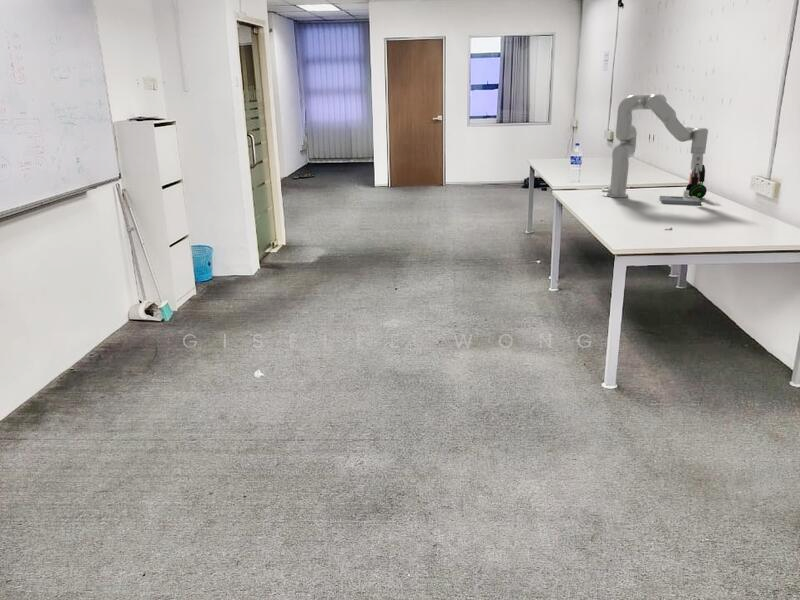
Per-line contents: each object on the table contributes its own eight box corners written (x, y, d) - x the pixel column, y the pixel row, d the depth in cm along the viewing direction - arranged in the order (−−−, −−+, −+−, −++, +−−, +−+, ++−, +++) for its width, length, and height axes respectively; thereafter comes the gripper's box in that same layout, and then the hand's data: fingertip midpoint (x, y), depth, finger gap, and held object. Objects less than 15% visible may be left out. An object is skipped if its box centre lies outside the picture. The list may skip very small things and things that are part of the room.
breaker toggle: (683, 197, 372) (684, 190, 370) (682, 196, 375) (684, 189, 374) (688, 198, 371) (689, 190, 370) (687, 196, 375) (688, 189, 373)
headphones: (690, 200, 378) (695, 166, 371) (683, 195, 392) (687, 162, 386) (707, 200, 377) (712, 166, 370) (699, 195, 391) (703, 163, 385)
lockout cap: (689, 183, 362) (691, 173, 360) (688, 182, 366) (690, 172, 364) (698, 184, 361) (700, 173, 359) (697, 183, 365) (698, 172, 363)
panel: (661, 203, 368) (662, 197, 367) (659, 199, 381) (660, 193, 380) (700, 205, 362) (701, 199, 361) (697, 200, 375) (698, 195, 374)
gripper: (707, 152, 349) (702, 185, 355) (703, 149, 364) (698, 181, 370) (692, 152, 351) (688, 185, 357) (688, 149, 366) (684, 181, 372)
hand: (693, 182), depth 363 cm, fingers closed on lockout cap, 4 cm apart
